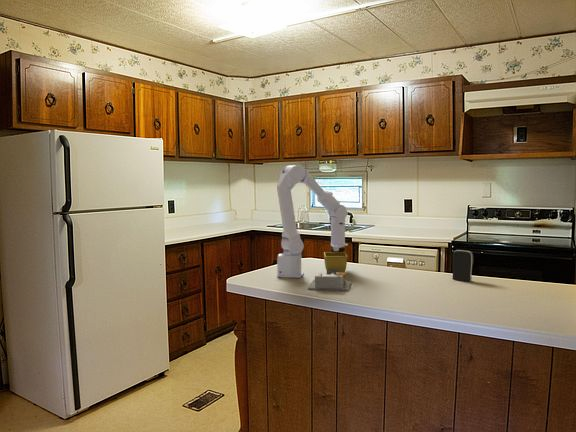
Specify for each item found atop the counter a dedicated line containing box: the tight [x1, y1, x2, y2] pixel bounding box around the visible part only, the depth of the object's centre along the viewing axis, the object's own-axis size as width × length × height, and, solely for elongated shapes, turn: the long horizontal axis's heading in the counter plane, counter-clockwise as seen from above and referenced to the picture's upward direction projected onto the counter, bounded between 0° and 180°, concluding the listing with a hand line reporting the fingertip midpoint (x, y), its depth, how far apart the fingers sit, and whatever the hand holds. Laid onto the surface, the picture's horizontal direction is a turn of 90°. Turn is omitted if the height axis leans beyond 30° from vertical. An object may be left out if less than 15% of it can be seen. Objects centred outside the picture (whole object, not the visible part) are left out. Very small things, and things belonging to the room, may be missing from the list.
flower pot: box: [323, 251, 348, 275], centre depth 178 cm, size 9×9×9 cm
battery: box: [452, 249, 474, 282], centre depth 169 cm, size 7×4×11 cm, turn 50°
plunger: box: [322, 269, 347, 277], centre depth 167 cm, size 8×10×4 cm
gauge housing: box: [307, 272, 352, 293], centre depth 161 cm, size 14×12×5 cm
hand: (338, 265), depth 187 cm, fingers closed
